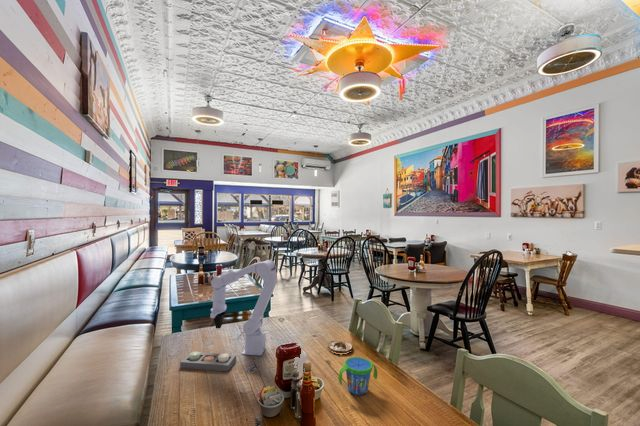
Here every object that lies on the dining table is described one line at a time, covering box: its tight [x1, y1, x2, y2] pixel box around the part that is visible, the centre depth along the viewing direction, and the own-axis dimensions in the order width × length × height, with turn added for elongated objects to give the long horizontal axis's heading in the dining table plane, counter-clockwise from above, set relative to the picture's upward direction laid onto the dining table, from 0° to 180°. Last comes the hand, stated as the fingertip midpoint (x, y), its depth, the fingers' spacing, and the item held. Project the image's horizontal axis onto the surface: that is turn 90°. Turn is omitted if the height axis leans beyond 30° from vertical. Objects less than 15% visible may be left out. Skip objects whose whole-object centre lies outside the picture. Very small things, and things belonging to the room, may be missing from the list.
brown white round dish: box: [327, 340, 354, 353], centre depth 144 cm, size 15×15×4 cm
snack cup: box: [337, 356, 378, 396], centre depth 111 cm, size 16×10×10 cm
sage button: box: [188, 351, 201, 361], centre depth 128 cm, size 4×4×2 cm
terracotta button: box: [204, 356, 214, 362], centre depth 127 cm, size 4×4×2 cm
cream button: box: [218, 353, 229, 363], centre depth 126 cm, size 4×4×2 cm
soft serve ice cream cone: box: [293, 343, 308, 377], centre depth 113 cm, size 8×8×16 cm
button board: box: [179, 351, 237, 372], centre depth 127 cm, size 21×9×2 cm, turn 85°
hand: (218, 327), depth 143 cm, fingers closed
